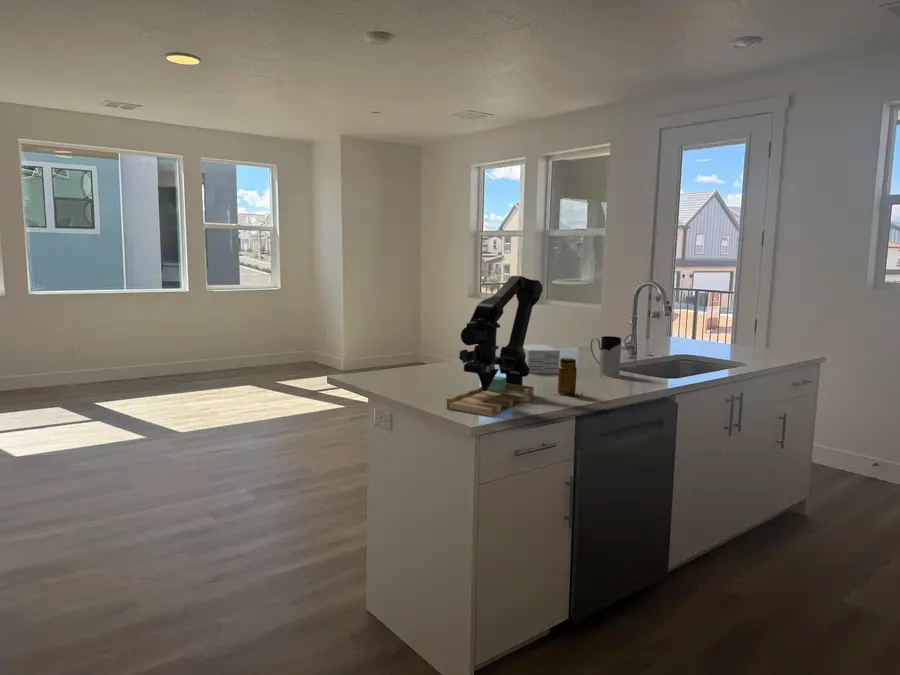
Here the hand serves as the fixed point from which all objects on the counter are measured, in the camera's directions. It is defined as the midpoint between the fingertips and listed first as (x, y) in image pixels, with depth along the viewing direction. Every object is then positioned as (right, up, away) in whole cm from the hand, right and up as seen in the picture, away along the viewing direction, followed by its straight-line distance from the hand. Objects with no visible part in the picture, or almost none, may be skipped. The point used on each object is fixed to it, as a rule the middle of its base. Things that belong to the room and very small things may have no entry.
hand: (484, 391), depth 204 cm
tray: (+2, -4, -3) cm, 5 cm away
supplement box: (+25, +4, +58) cm, 63 cm away
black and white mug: (+50, +2, +52) cm, 73 cm away
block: (+4, 0, +8) cm, 9 cm away
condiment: (+29, -2, +14) cm, 33 cm away
